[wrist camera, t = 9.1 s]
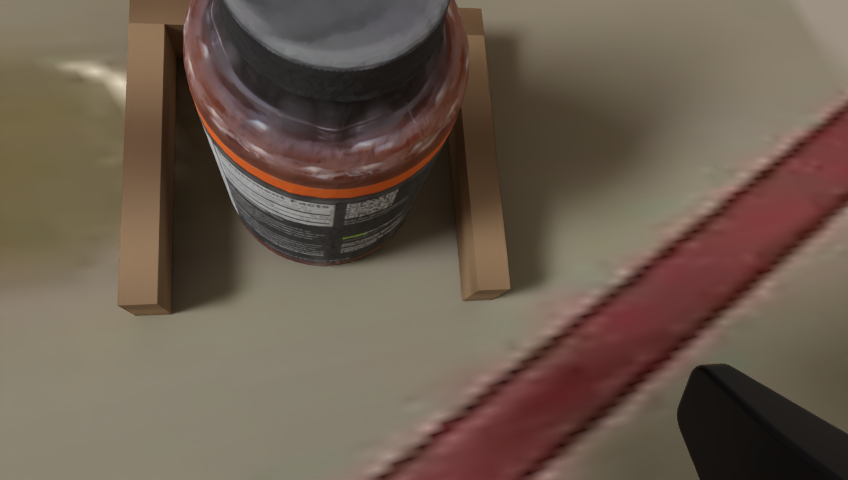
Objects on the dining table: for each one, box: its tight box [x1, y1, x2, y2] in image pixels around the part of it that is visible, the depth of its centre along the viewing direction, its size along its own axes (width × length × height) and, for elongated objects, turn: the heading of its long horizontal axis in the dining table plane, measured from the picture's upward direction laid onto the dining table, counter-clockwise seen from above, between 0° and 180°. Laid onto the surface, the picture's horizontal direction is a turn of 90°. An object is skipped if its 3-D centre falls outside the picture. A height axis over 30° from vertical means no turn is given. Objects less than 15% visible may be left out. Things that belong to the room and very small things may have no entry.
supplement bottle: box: [183, 0, 470, 266], centre depth 16 cm, size 6×6×11 cm
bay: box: [118, 0, 511, 316], centre depth 21 cm, size 10×11×2 cm
